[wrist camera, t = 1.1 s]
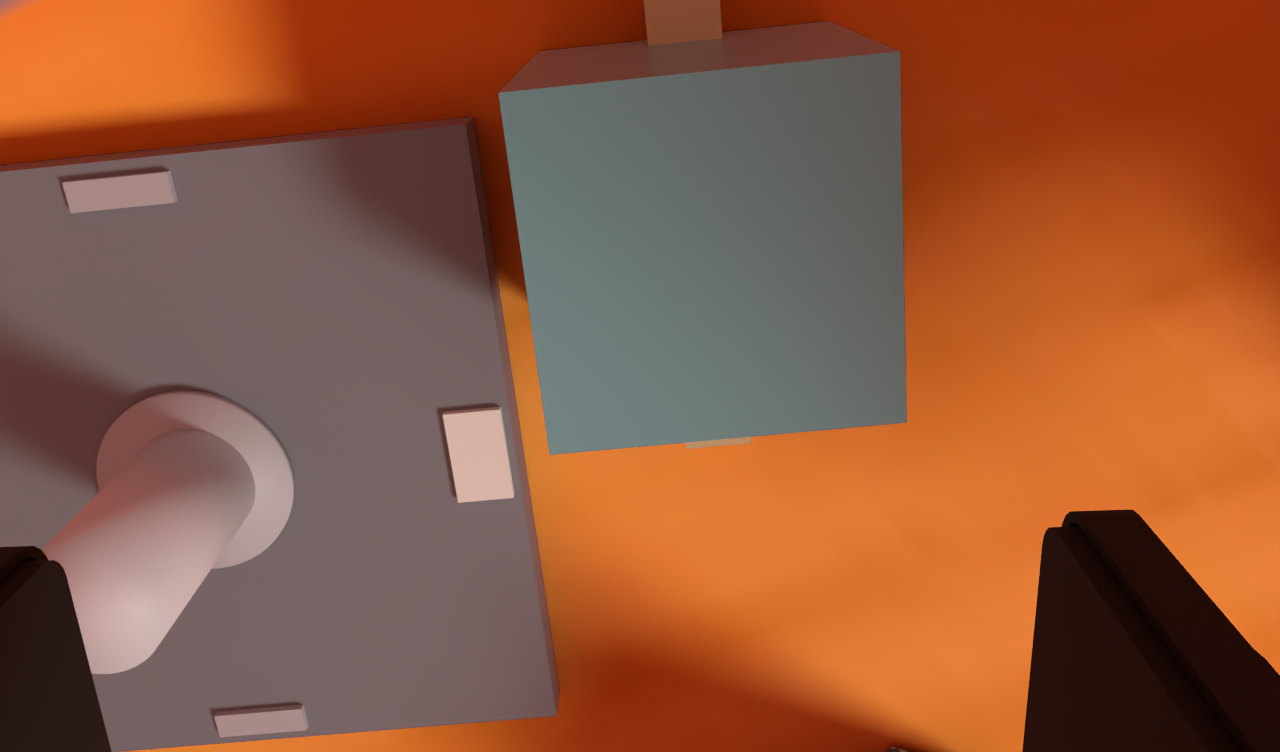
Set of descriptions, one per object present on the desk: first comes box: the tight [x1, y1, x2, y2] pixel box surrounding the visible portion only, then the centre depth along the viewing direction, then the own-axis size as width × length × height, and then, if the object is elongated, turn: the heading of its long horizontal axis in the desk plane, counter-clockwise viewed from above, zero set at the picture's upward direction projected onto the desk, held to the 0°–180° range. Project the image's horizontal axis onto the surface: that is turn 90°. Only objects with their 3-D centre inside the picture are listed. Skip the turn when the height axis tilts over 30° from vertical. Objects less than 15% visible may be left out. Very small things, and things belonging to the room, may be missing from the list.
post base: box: [0, 117, 559, 752], centre depth 26 cm, size 16×16×7 cm
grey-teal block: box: [498, 0, 907, 455], centre depth 23 cm, size 12×7×8 cm, turn 6°
